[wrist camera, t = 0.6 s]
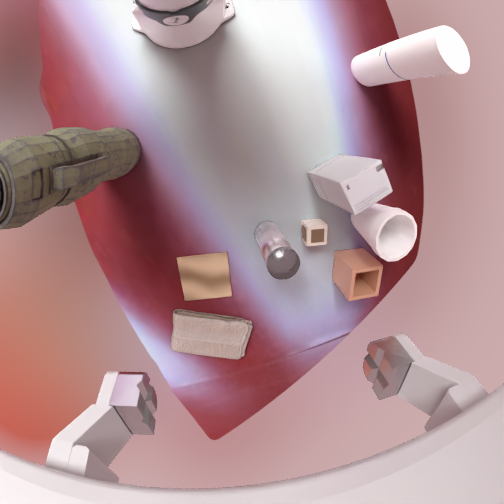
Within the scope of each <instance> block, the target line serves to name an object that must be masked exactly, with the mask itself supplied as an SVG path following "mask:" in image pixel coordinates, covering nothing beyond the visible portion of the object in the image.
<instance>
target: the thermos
mask: <svg viewBox="0 0 504 504" xmlns="http://www.w3.org/2000/svg"><path fill="white" fill-rule="evenodd" d="M140 155H141V144H140V142H139V139H138V138H137V136H136V135H135V134H134V133H133V132H131V131H129V130H127V129H123V128H118V127H110V128H104V129H102V130H99V131H92V130H90V129H87V128H81V127H67V128H57V129H54V130H51V131H49V132H48V133H46V134H45V135H34V136H25V137H17V138H10V139H7V140H4V141H2V142H0V229H10V228H17V227H21V226H23V225H24V224H26V223H28V222H29V221H31V220H32V219H34V218H36V217H37V216H39V215H41V214H42V213H44V212H46V211H47V210H49V209H50V208H52V207H54V206H64V205H68V204H70V203H72V202H74V201H75V200H77V199H79V198H81V197H82V196H84V195H86V194H88V193H90V192H91V191H93V190H94V189H95V188H96V187H97V186H98V185H99V184H100V183H101V182H103V181H105V180H114V179H117V178H119V177H121V176H123V175H125V174H127V173H128V172H129V171H131V170H132V169H133V168H134V167H135V166H136V164H137V163H138V161H139V159H140Z"/></svg>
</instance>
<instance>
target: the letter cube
mask: <svg viewBox="0 0 504 504" xmlns="http://www.w3.org/2000/svg"><path fill="white" fill-rule="evenodd" d="M327 229H328V225H327V224H326V223H325V222H324V221H323V220H321V219H310V220H301V239H302V241H303V242H304V243H305V244H306V245H307V247H308V246H317V245H326V244H327Z"/></svg>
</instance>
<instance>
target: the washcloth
mask: <svg viewBox="0 0 504 504" xmlns="http://www.w3.org/2000/svg"><path fill="white" fill-rule="evenodd" d="M173 325H174V327H173V333H172V338H171V349H172V350H174V351H176V352H177V351H178V352H182V353H183V352H184V353H190V354H197V355H203V356H211V357H220V358H228V359H240V358H241V357H243V356H244V355H245V348H246V346H247V342H248V339H249V337H250V333H251V330H252V327H253V326H252V321H249V320H245V319H243V318H241V319H240V318H237V317H232V316H224V315H217V314H209V313H202V312H194V311H188V310H182V309H176V310H174V311H173Z"/></svg>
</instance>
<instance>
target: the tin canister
mask: <svg viewBox="0 0 504 504" xmlns="http://www.w3.org/2000/svg"><path fill="white" fill-rule="evenodd" d="M255 238H256V240H257V243H258V245H259V248H260V250H261V252H262V255H263V257H264V260H265V262H266V265H267V269H268V271H269V273H270V274H271V276H273V277H274V278H276V279H288V278H290V277H292V276H293V275H294V274H295V273H296V272H297V271H298V269H299V266H300V259H299V257H298V255H297V254H296V252H295V251H294V250H293V249H292V247H291V246H290V244H289V243H288V241H287V240H286V238H285V237H284V236H283V234H282V233H281V231H280V230H279V228H278V227H277V225H276V224H274V223H273V222H269V221H266V222H262V223H260V224H259V225H258V226H257V228H256V229H255Z"/></svg>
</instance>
